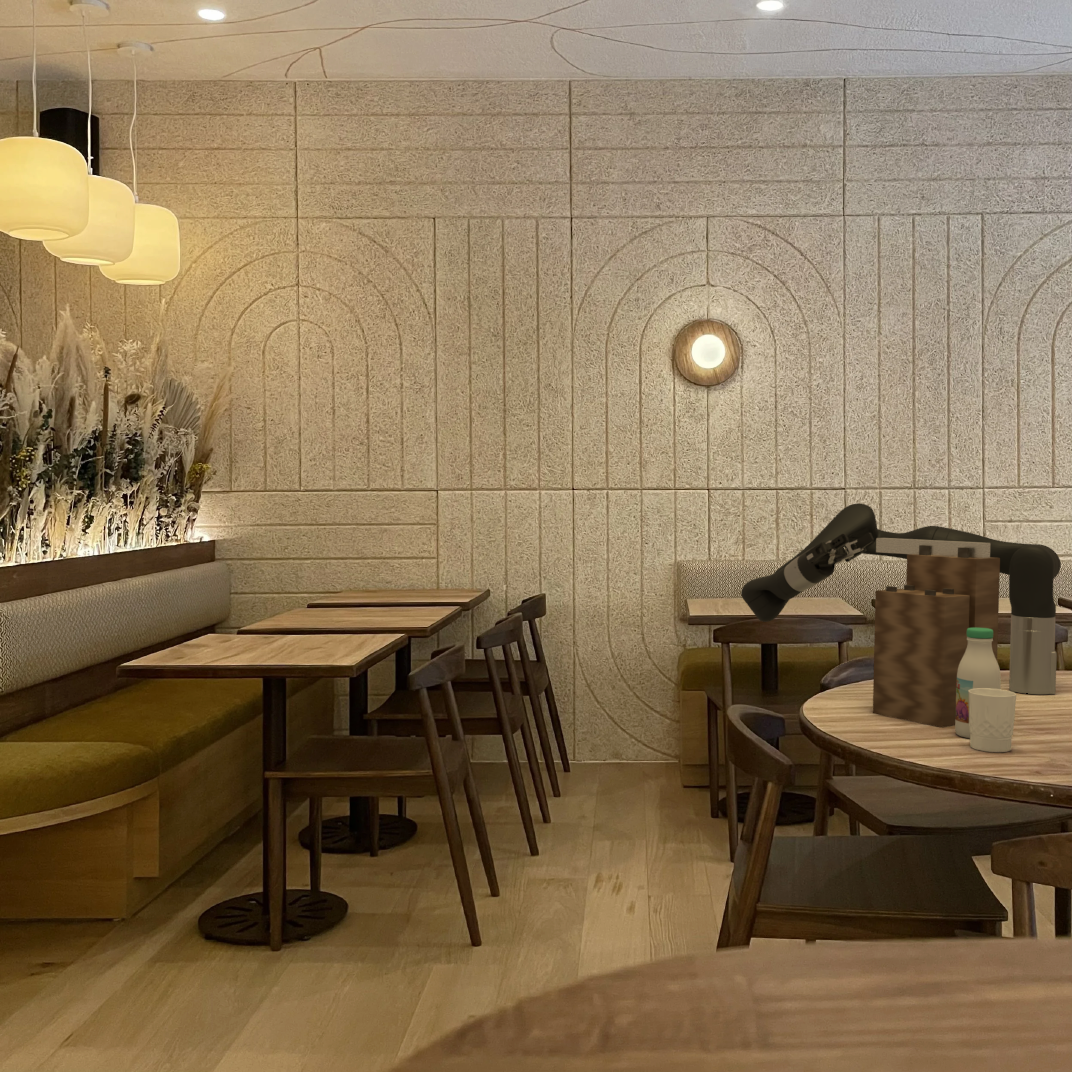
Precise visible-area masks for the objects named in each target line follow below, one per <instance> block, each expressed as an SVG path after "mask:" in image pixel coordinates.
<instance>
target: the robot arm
mask: <svg viewBox="0 0 1072 1072" xmlns="http://www.w3.org/2000/svg"><path fill="white" fill-rule="evenodd" d="M877 525H878V524H877V519H876V514H875V512H874V510H873V508H872V507H870V506H869V505H867V504H865V503H859V502H858V503H853V504H850V505H847V506H845V507H844V508H843V509H842V510H840V511H839V512H837V514H836V515H835V516H834V517H833V518H832V519H831V520H830V521H829V523H827V525H826V526H824V528H823V529H822V530H821V531H820V532H819V533H818V535H816V536H815V537H814V539H812V541H810V543H808V545H807V546H806V547H804V548H803V549H802V550H801V551H800V552H799V553H797V554H796V555H795V556H793V557H792V558H791V559H789V560H788V561H787V562H785V563H784V564H783V565H782V566H780V567H779V568H777V570H775V572H774V573H772V574H769V575H766V576H762V577H758V578H753V579H751V580H749V581H748V582H746V583H745V584H744V585H743V586H742V589H741V593H740V594H741V597H742V600H743V601H744V602H745V604H746V605H747V607H749V609H750V610H751V611H752V613H753V614H754V615H755V617H756V618H757V619H758V621H760V622H763V623H765V622H766V623H767V622H771V621H773V620H774V619H776V618H777V617H778V616H779V615H780V613H781V612H783V609H784V607H785V606H786V605H787V604H788V602H789V601H790V600H792V599H793V598H795V597H796V596H798V595H800V594H801V593H802V592H804V591H807V590H809V589H812V587H815V586H816V585H818V584H819V583H820V582H822V581H824V580H826V579H828V578H829V577H830V576H832V575H833V574H834V572H835V567H836V565H838V564H840V563H843V561H845V562H846V563H849V562H850V561H852V560H854V559H855V558H857V557H858V556H861V555H862V554H863V555H874V556H881V557H883V556H884V557H892V558H897V559H904V560H907V555H910V554H898V553H880V552H876V538H897V539H918V540H940V541H961V542H982V543H990V557H993V558H1000V574H1005V575H1008V576H1009V577H1008V581H1009V582H1008V587H1009V588H1008V591H1009V592H1008V597H1009V599H1008V600H1009V604H1010V608H1011V609H1010V610H1011V611H1010V642H1009V643H1010V645H1009V678H1008V684H1009V685H1008V687H1009V688H1008V689H1009V690H1008V691H1011V692H1014V693H1019V694H1020V693H1021V694H1026V693H1028V694H1027V695H1055V694H1056V687H1057V686H1056V685H1057V658H1058V657H1057V651H1056V649H1055V647H1056V615H1057V614H1056V613H1057V612H1056V611H1057V606H1056V604H1055V600H1054V579H1055V578H1056V577H1057V576H1058V574H1059V573H1060V570H1061V567H1062V565H1061V564H1062V562H1061V559H1060V557H1059V554H1057V552H1056V551H1055V550H1054V549H1052V548H1051V547H1049V546H1047V545H1045V544H1039V543H1038V544H1037V543H1036V544H1033V543H1019V542H1011V541H1002V540H999V539H994V538H991V537H987V536H984V535H983V536H982V535H980V534H975V533H972V532H967V531H964V530H960V529H955V528H949V527H944V526H939V525H927V526H923V527H919V528H916V529H913V530H909V531H907V532H892V531H887V530H886V531H885V530H882V529H880V528H878V526H877Z"/></svg>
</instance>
